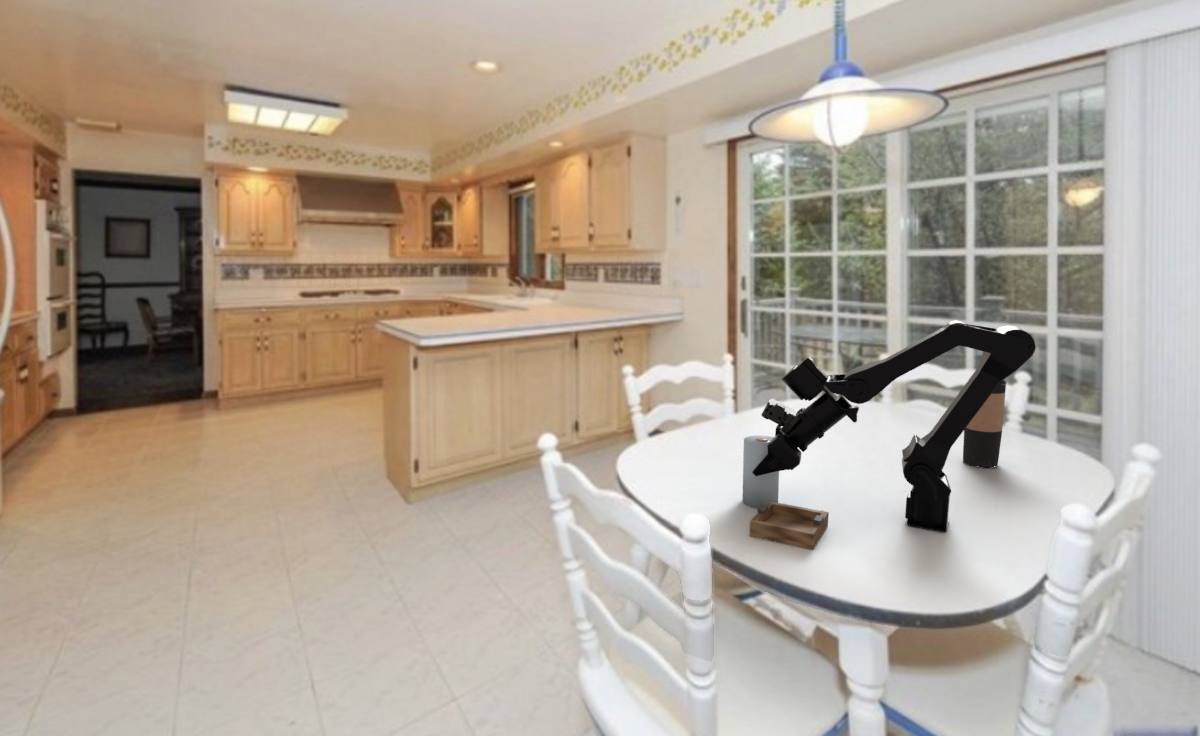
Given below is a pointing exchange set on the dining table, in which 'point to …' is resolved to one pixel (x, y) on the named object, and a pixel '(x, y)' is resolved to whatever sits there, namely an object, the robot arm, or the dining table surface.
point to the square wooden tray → (789, 524)
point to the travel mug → (985, 431)
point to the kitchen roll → (761, 486)
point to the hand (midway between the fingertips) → (757, 466)
